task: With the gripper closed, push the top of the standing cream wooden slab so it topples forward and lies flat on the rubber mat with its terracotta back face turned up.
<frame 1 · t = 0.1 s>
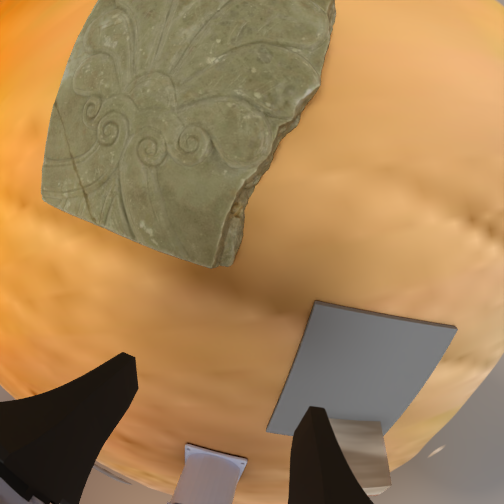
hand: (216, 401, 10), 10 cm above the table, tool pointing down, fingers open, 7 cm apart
decorative tile: (172, 97, 16), on the table
mat: (356, 389, 21), on the table
slab: (345, 425, 22), resting on mat
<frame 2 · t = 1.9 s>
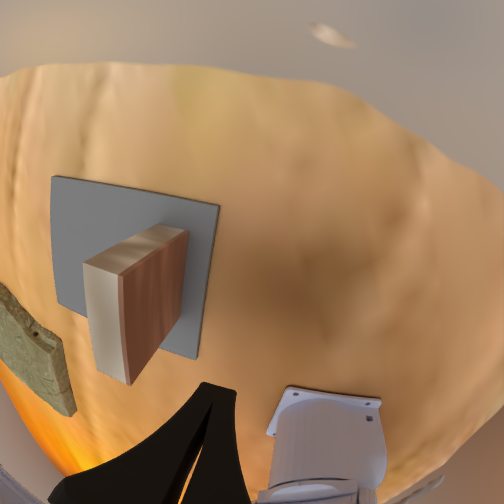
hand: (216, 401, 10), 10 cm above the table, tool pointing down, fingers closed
decorative tile: (28, 341, 29), on the table
mat: (116, 265, 21), on the table
slab: (167, 272, 19), resting on mat
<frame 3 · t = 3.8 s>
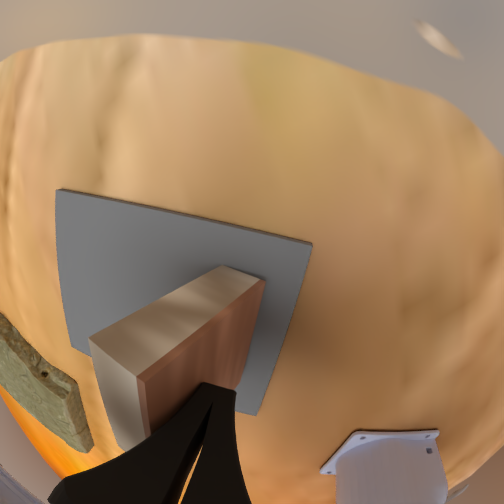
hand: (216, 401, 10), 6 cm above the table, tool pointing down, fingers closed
decorative tile: (34, 373, 25), on the table
mat: (153, 311, 16), on the table
slab: (229, 329, 15), point 1 cm above the table, tilted 16°, touching mat
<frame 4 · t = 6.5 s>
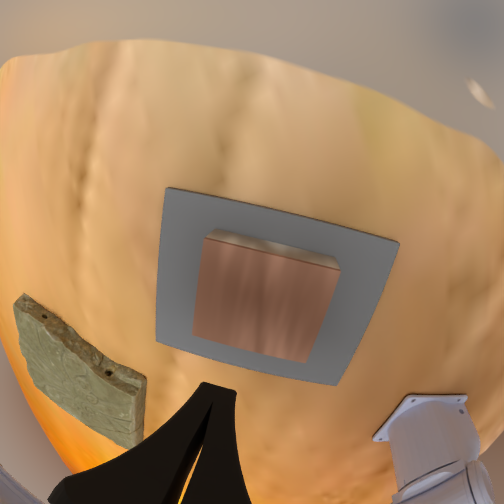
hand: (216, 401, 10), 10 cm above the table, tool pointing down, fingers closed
decorative tile: (82, 373, 28), on the table
mat: (263, 300, 20), on the table
slab: (321, 311, 17), point 2 cm above the table, tilted 90°, touching mat
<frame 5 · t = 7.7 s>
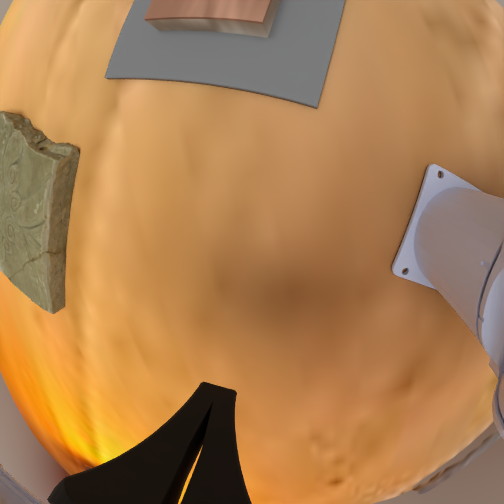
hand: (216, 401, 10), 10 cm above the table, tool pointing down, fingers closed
decorative tile: (21, 197, 22), on the table
mat: (223, 8, 13), on the table
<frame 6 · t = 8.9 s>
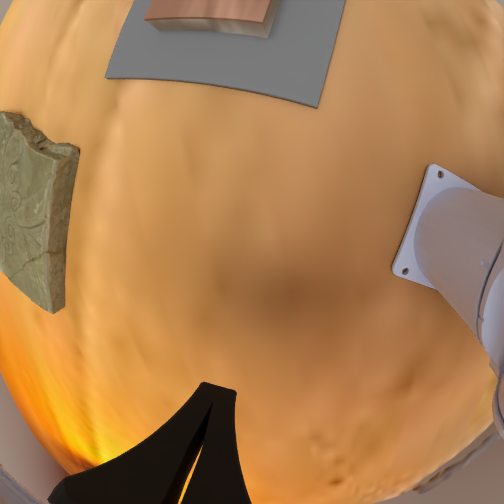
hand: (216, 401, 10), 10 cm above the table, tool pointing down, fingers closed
decorative tile: (21, 197, 22), on the table
mat: (223, 8, 13), on the table
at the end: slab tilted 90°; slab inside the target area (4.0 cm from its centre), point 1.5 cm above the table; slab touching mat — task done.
